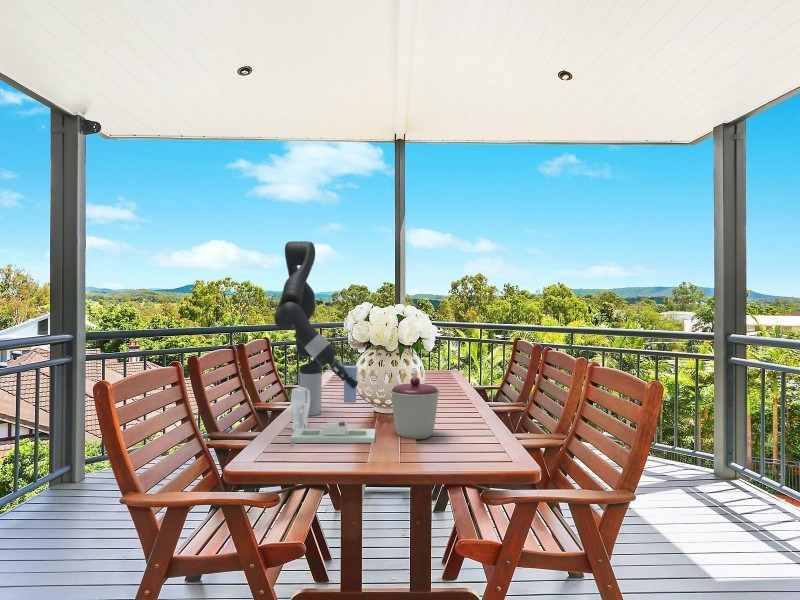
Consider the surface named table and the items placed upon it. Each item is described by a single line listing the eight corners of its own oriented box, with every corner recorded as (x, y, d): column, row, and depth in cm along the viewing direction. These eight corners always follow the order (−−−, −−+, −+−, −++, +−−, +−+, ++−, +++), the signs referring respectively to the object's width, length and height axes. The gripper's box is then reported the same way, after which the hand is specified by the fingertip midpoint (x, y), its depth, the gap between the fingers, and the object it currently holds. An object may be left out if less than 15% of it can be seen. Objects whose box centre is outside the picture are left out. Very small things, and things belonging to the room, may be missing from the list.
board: (296, 435, 187) (296, 428, 187) (375, 435, 188) (375, 428, 188) (290, 444, 175) (290, 437, 175) (374, 445, 176) (374, 437, 176)
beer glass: (286, 429, 195) (287, 389, 195) (298, 425, 201) (299, 386, 201) (301, 432, 192) (302, 391, 192) (313, 428, 198) (314, 388, 198)
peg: (344, 400, 184) (345, 365, 184) (356, 400, 184) (356, 365, 184) (343, 402, 180) (344, 367, 180) (355, 402, 180) (356, 367, 180)
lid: (326, 429, 185) (326, 420, 185) (346, 429, 185) (346, 420, 185) (324, 434, 178) (324, 425, 178) (345, 434, 178) (345, 425, 178)
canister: (382, 431, 194) (383, 374, 194) (428, 428, 200) (428, 372, 200) (398, 445, 177) (399, 382, 177) (447, 441, 183) (448, 380, 183)
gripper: (327, 344, 175) (363, 381, 175) (330, 340, 189) (364, 374, 189) (310, 360, 174) (347, 397, 175) (315, 355, 189) (349, 389, 189)
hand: (355, 385), depth 182 cm, fingers closed on peg, 4 cm apart
